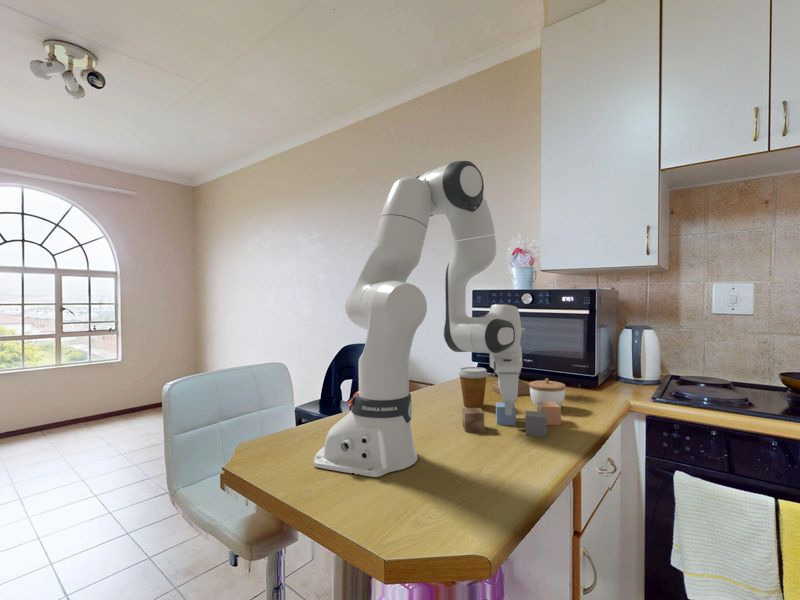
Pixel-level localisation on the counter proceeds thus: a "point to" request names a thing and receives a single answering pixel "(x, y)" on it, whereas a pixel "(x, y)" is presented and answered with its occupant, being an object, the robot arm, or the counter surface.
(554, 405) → the terracotta cube
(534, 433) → the charcoal cube
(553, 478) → the counter surface
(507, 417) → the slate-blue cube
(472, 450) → the counter surface
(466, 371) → the disposable coffee cup
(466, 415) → the walnut cube
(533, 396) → the lidded jar
